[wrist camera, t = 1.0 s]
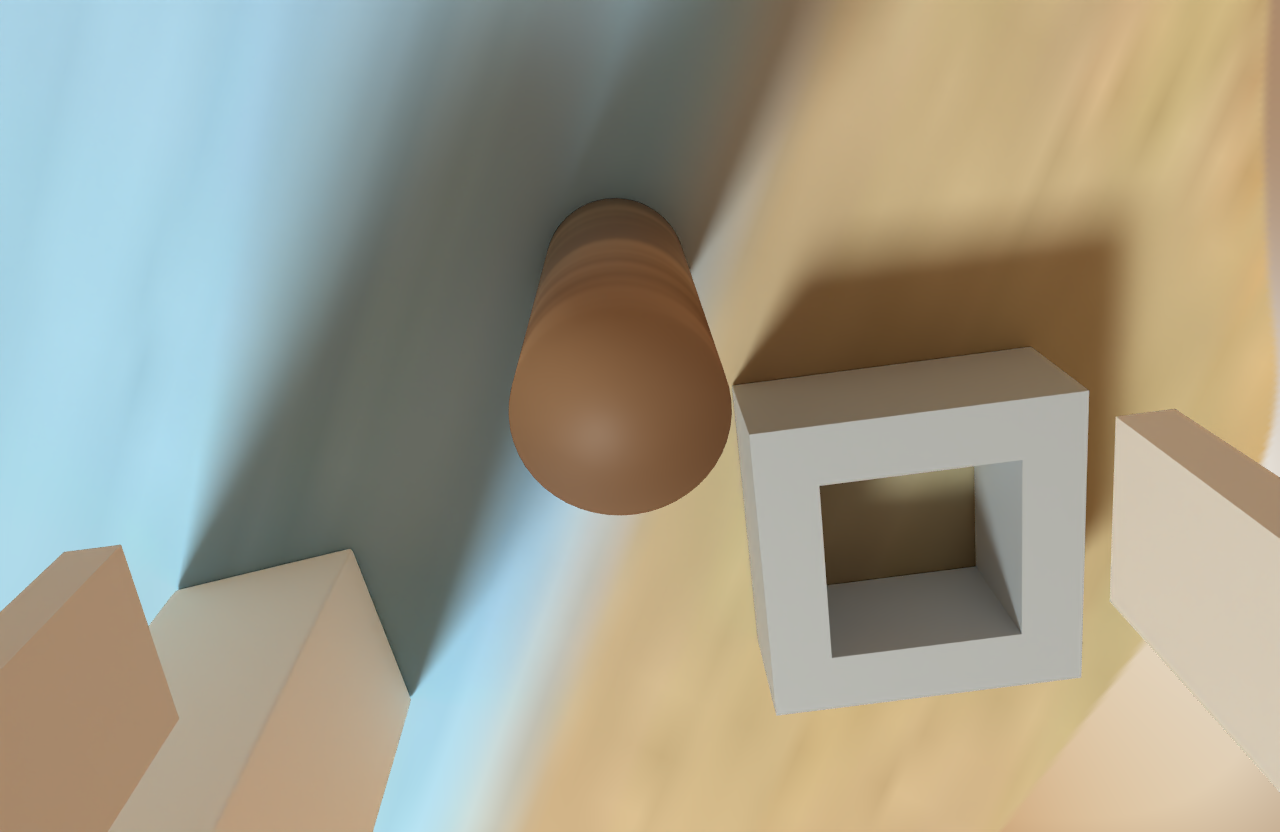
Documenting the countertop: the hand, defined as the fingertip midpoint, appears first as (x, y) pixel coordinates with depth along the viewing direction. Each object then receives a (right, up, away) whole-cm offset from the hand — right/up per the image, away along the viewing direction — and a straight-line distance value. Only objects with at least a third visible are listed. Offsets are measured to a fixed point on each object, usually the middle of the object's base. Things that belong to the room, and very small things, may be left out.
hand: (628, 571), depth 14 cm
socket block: (+8, -1, +19) cm, 20 cm away
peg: (-1, +6, +16) cm, 17 cm away
